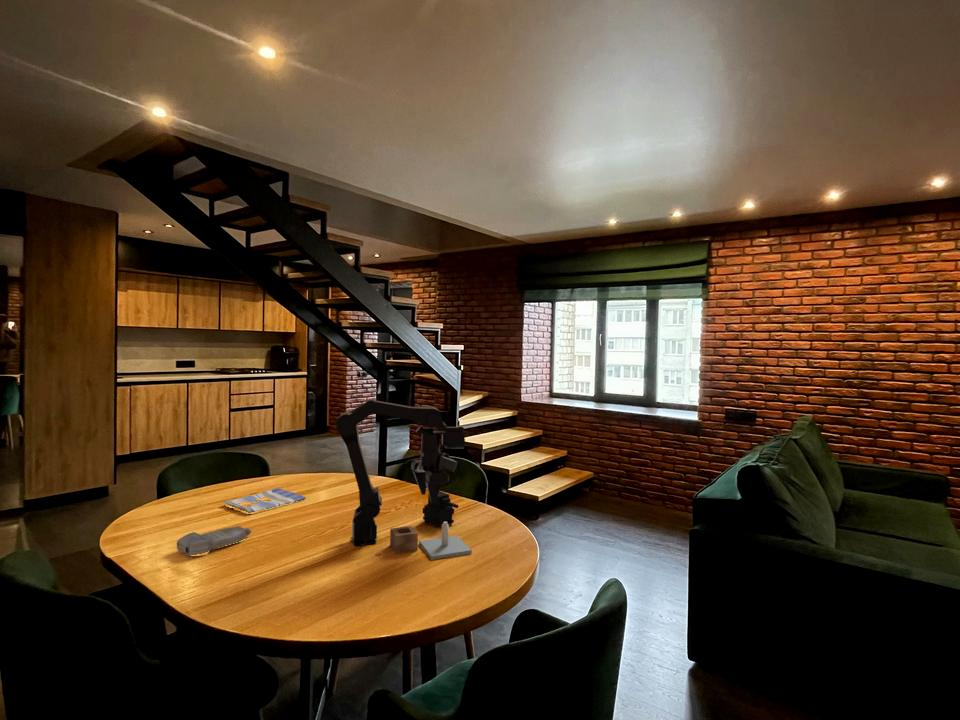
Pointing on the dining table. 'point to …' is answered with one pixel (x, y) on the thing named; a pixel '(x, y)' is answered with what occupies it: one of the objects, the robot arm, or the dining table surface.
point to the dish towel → (274, 495)
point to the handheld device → (210, 540)
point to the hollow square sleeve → (403, 539)
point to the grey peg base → (445, 545)
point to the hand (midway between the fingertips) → (428, 498)
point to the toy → (439, 510)
